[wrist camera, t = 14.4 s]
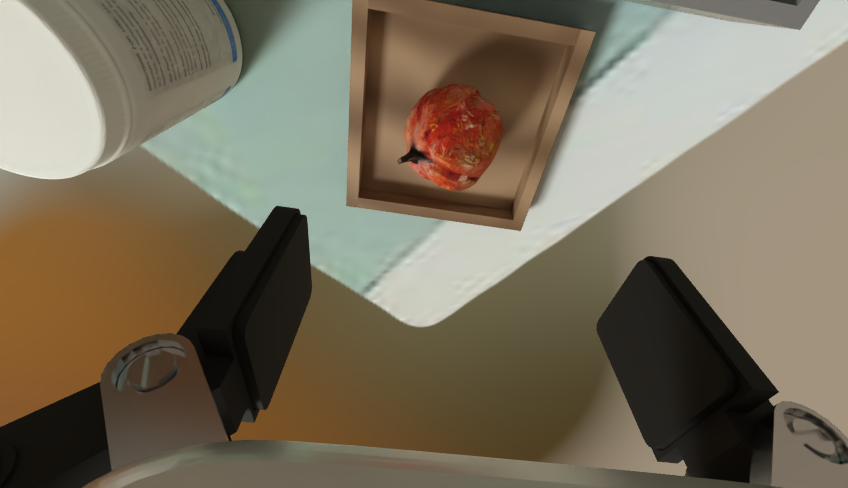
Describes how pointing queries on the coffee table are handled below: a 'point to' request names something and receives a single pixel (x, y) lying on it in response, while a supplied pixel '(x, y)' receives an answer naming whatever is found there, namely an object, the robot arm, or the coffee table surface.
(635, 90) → the coffee table surface
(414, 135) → the pomegranate
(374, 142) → the tray
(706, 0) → the grey open box
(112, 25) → the supplement tub
